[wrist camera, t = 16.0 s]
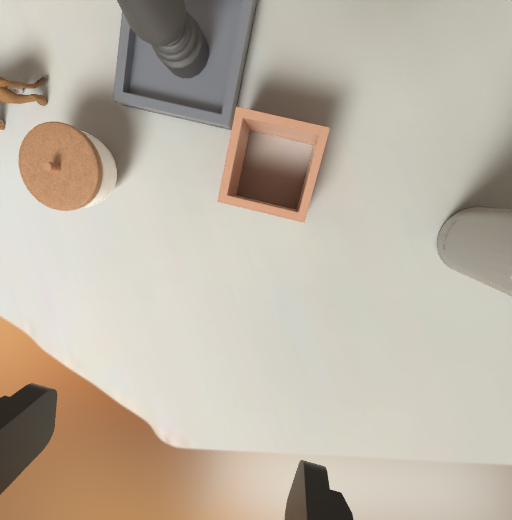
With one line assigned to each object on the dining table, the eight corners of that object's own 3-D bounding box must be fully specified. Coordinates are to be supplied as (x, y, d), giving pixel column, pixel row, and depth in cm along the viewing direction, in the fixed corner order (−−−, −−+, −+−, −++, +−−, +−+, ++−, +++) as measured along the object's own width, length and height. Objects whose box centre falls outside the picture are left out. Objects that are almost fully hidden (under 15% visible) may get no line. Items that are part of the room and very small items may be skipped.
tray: (258, -3, 38) (256, -16, 35) (231, 130, 41) (228, 126, 39) (138, -27, 38) (127, -42, 36) (123, 105, 42) (113, 99, 40)
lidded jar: (54, 189, 46) (-3, 188, 37) (74, 121, 43) (17, 101, 34) (117, 219, 46) (75, 226, 37) (140, 153, 43) (100, 142, 34)
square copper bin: (322, 139, 40) (330, 127, 34) (301, 218, 43) (304, 222, 36) (244, 121, 41) (236, 106, 34) (228, 200, 43) (217, 201, 37)
